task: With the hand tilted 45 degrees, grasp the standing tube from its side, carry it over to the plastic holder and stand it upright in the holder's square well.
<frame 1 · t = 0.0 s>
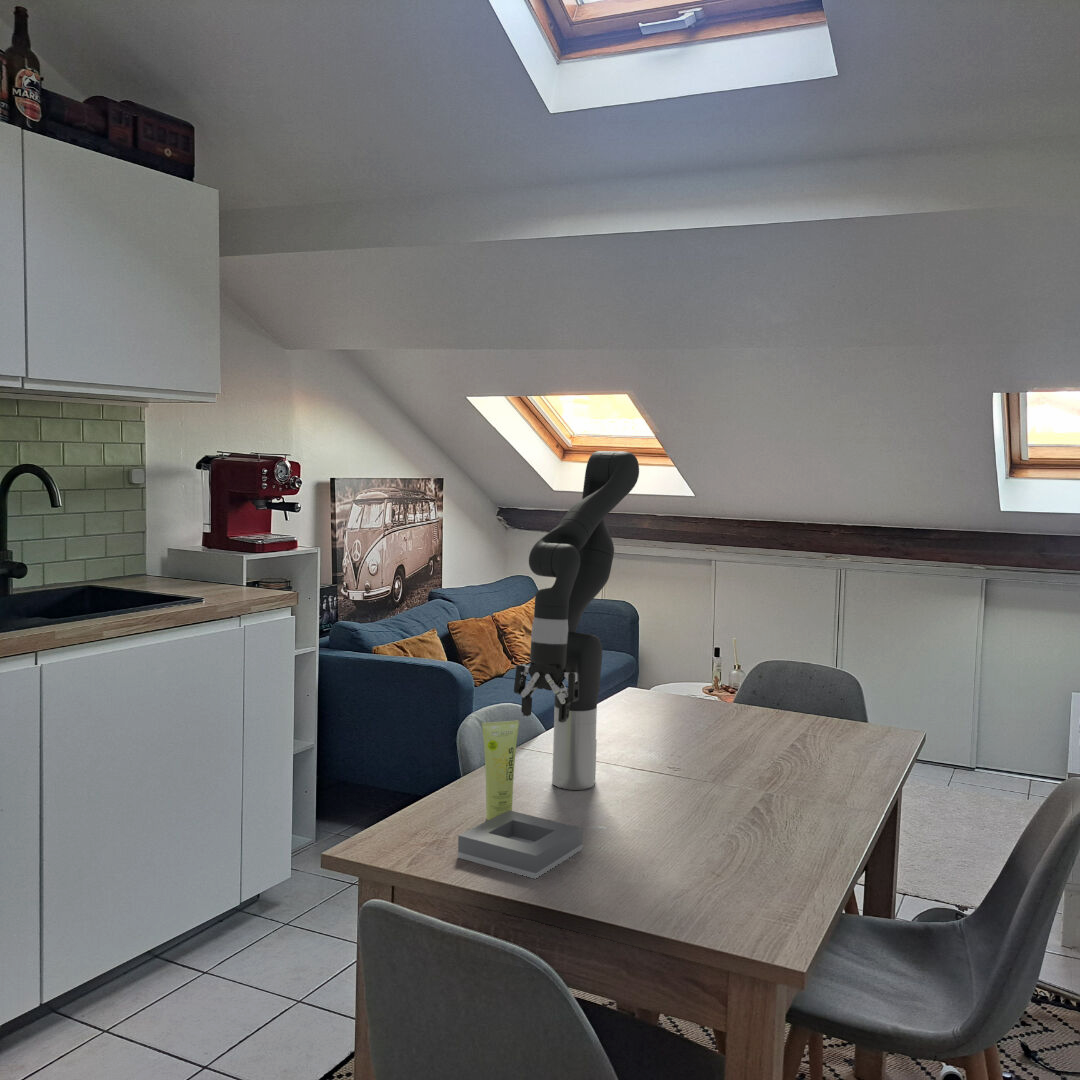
hand: (544, 718, 206), 17 cm above the table, tool pointing down, fingers open, 8 cm apart
holder: (520, 853, 178), on the table
tube: (497, 820, 195), on the table
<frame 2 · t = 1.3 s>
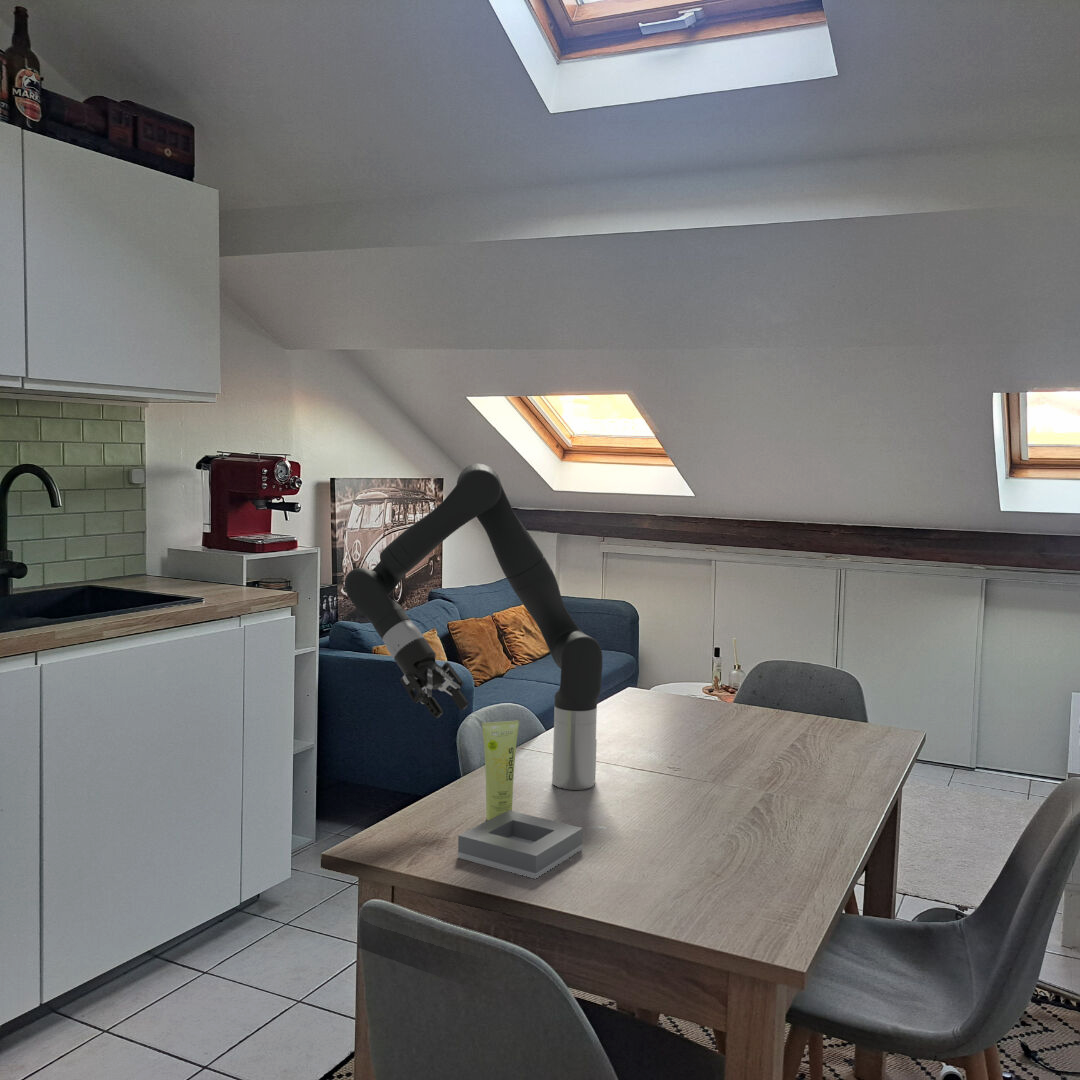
hand: (452, 711, 199), 20 cm above the table, tool tilted 45°, fingers open, 8 cm apart
nothing on the table moved.
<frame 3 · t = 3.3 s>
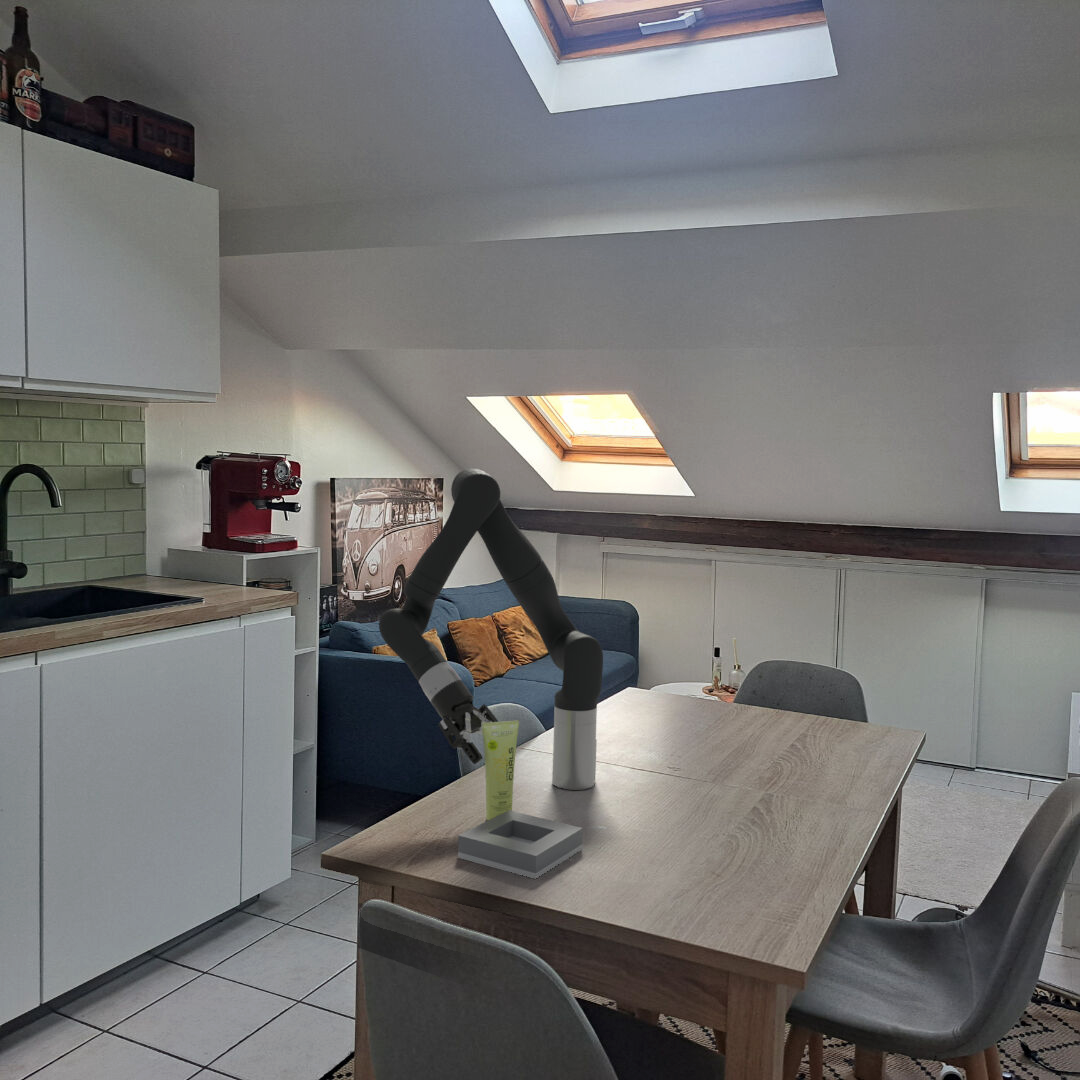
hand: (491, 756, 195), 12 cm above the table, tool tilted 45°, fingers open, 8 cm apart
nothing on the table moved.
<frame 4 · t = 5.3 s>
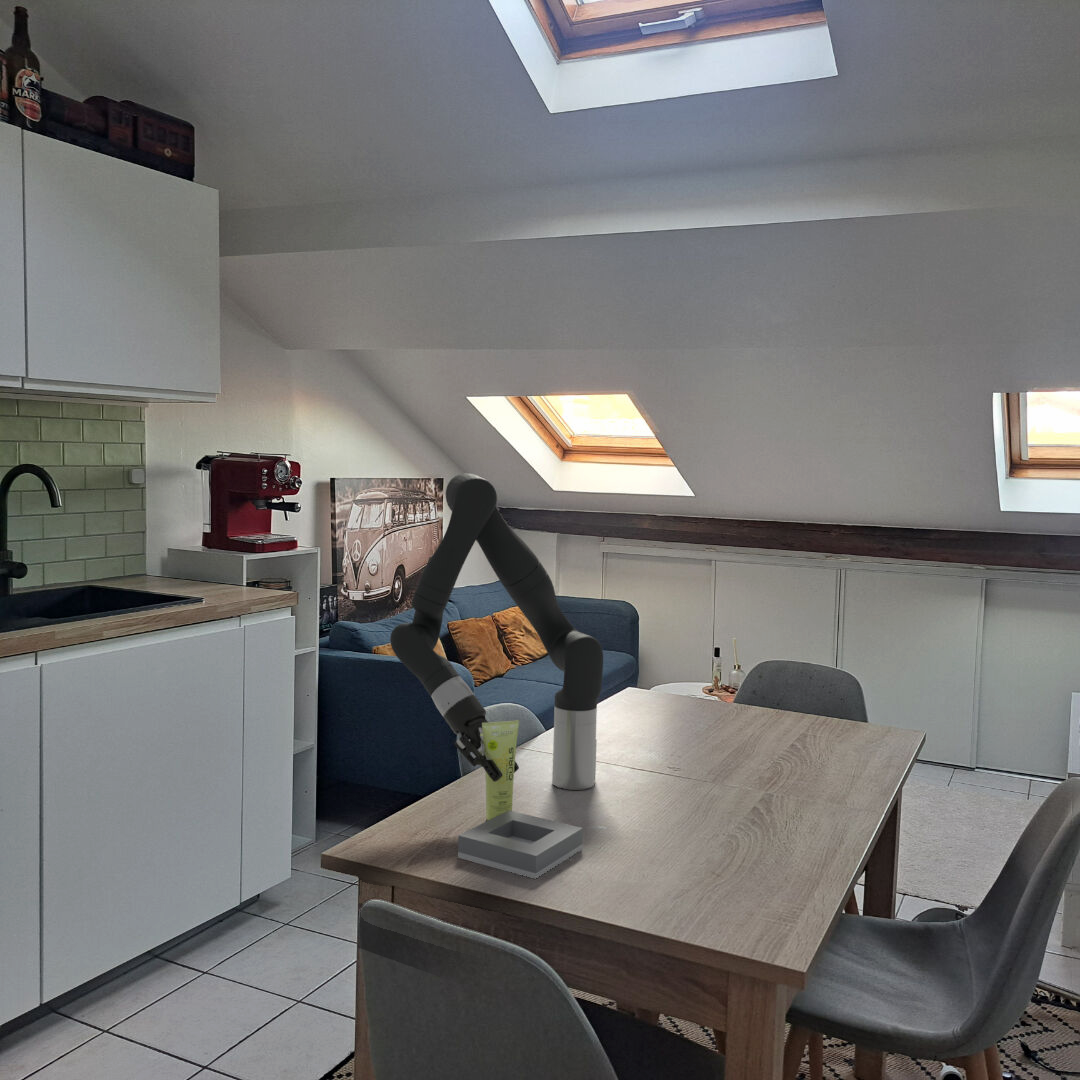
hand: (507, 774, 193), 9 cm above the table, tool tilted 45°, fingers closed on tube, 5 cm apart
tube: (497, 820, 195), on the table, touching gripper
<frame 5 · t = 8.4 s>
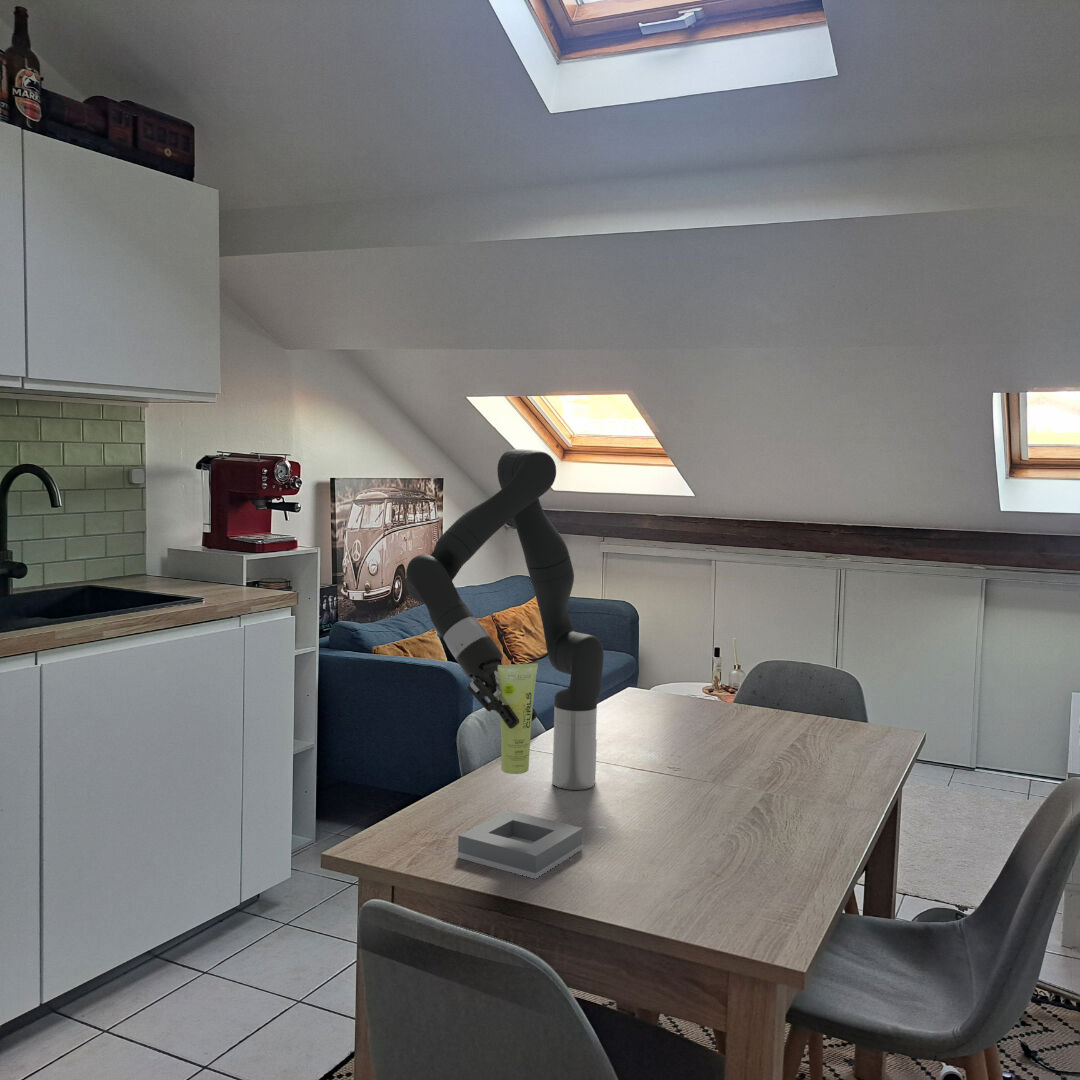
hand: (524, 722, 178), 23 cm above the table, tool tilted 45°, fingers closed on tube, 5 cm apart
tube: (513, 771, 180), point 14 cm above the table, touching gripper
when the fingers open (11 cm above the table, at t = 11.7 s): tube drops 1 cm, resting on holder.
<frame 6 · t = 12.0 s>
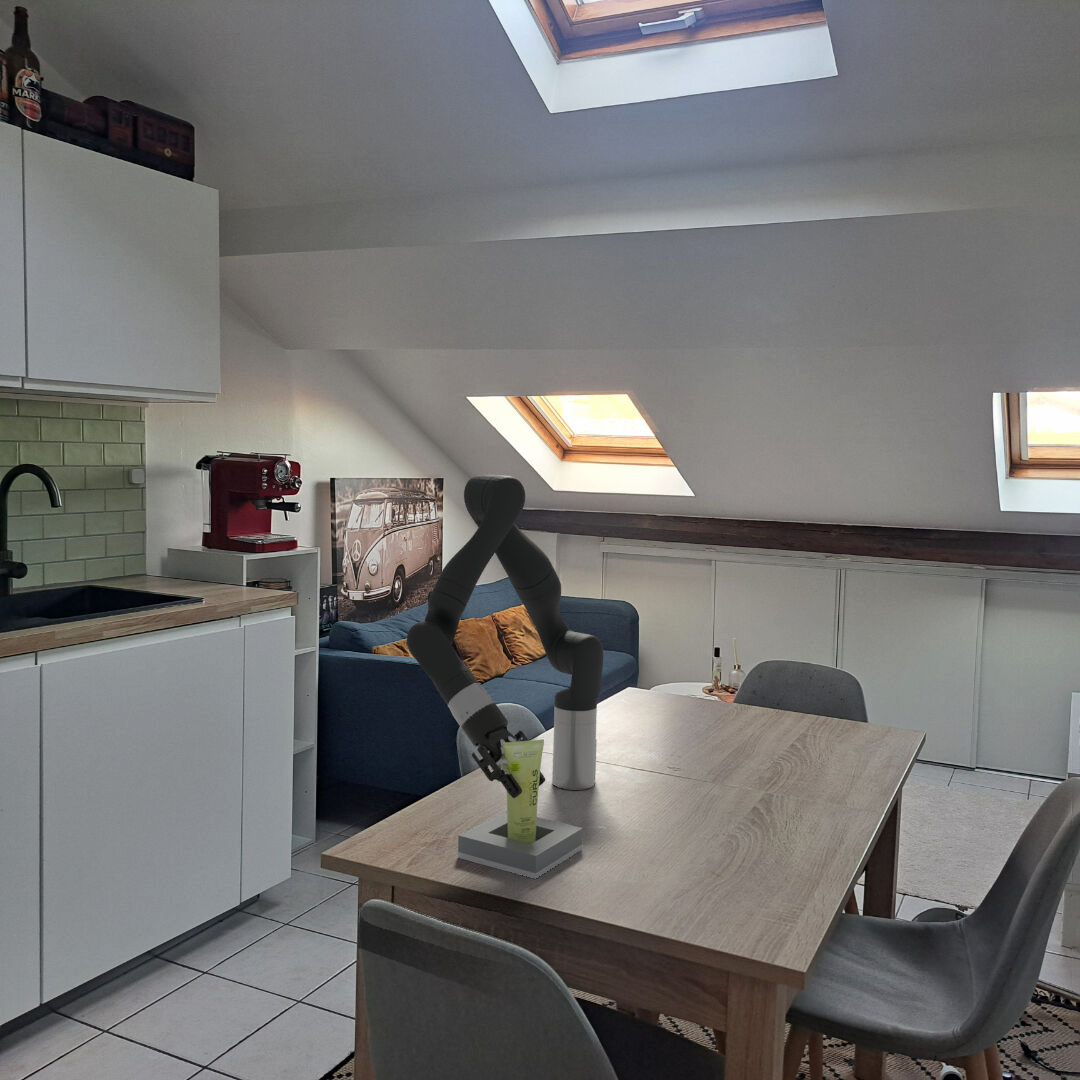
hand: (530, 789, 176), 12 cm above the table, tool tilted 45°, fingers open, 7 cm apart
tube: (520, 848, 178), point 1 cm above the table, touching holder
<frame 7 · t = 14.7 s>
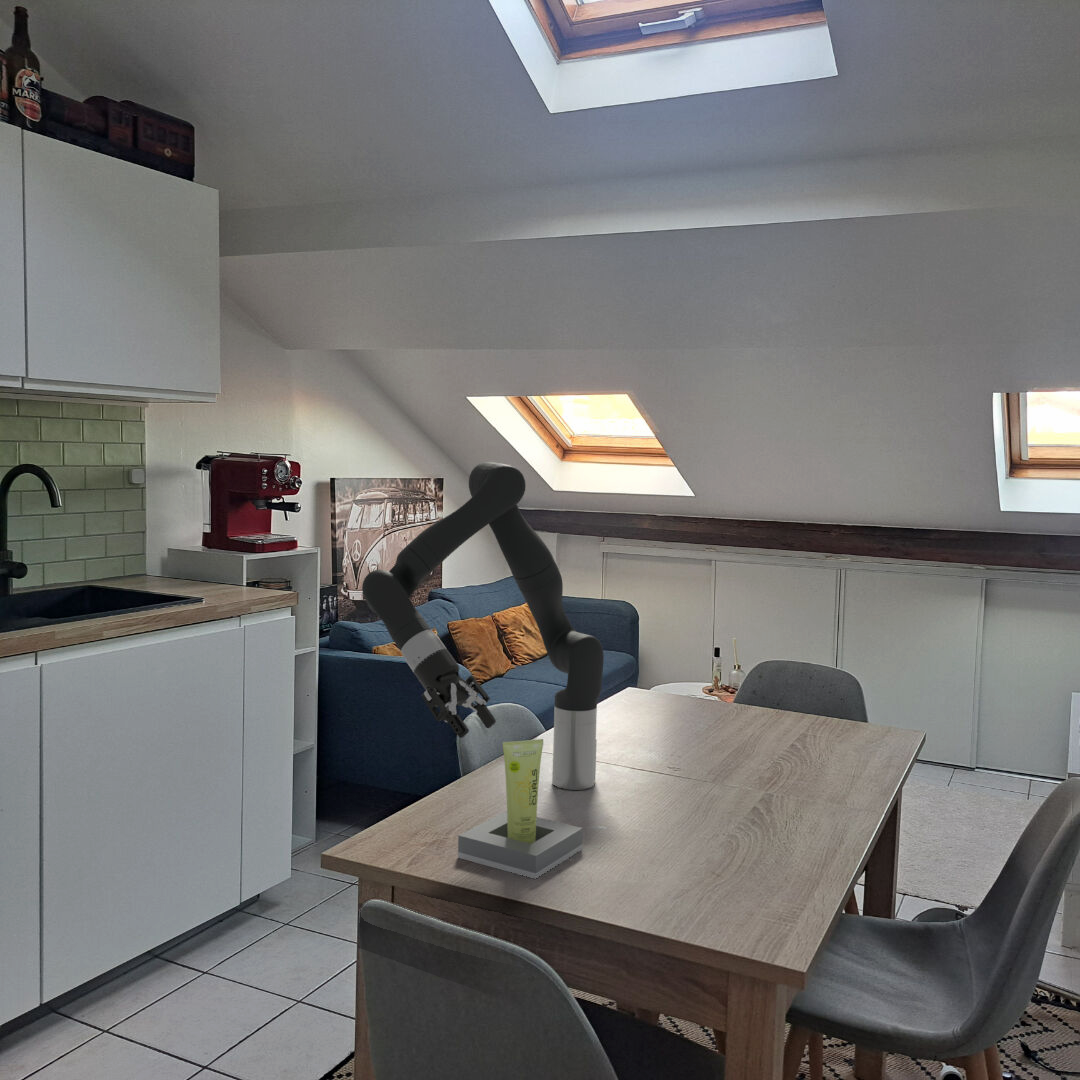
hand: (478, 730, 182), 21 cm above the table, tool tilted 45°, fingers open, 8 cm apart
nothing on the table moved.
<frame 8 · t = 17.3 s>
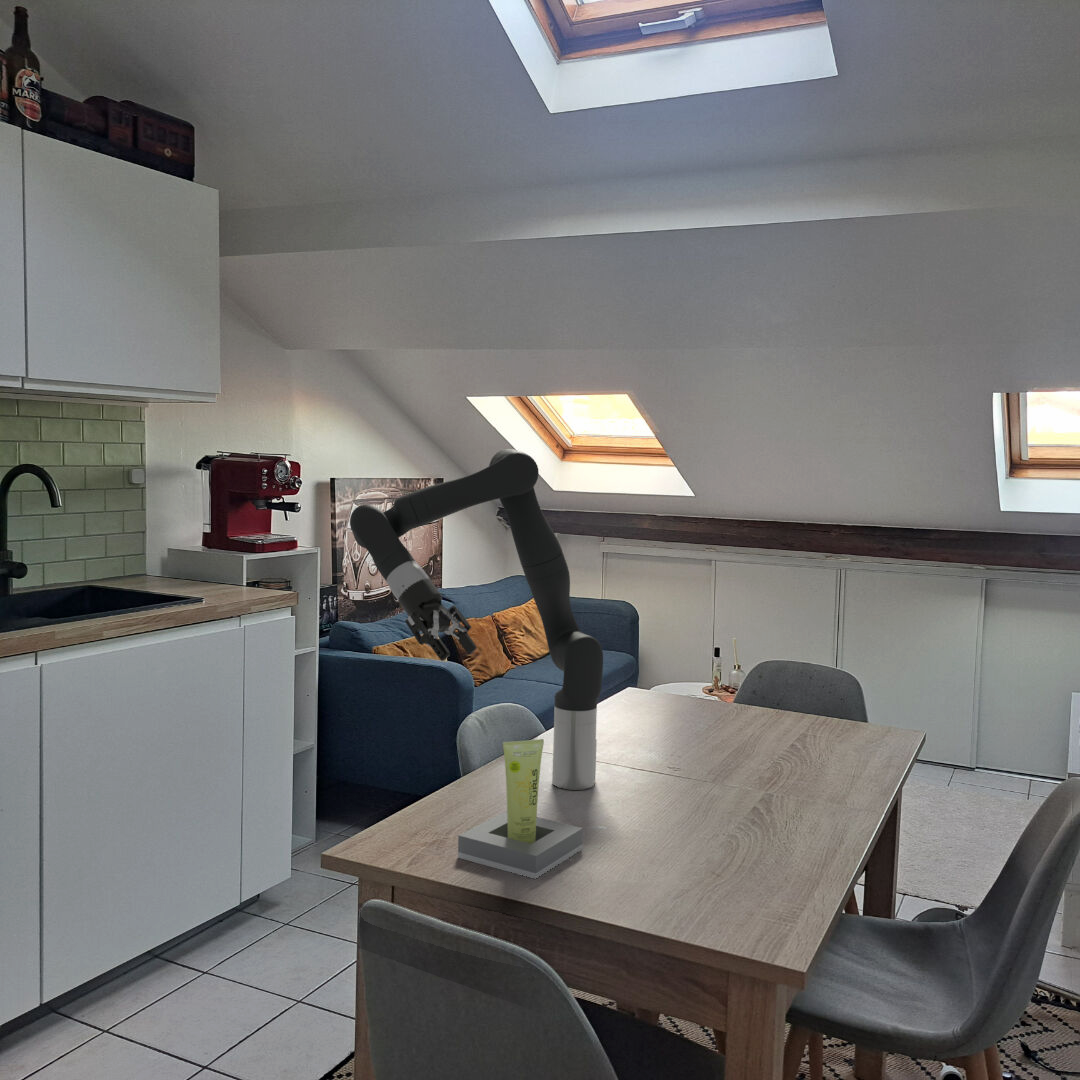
hand: (460, 654, 191), 33 cm above the table, tool tilted 45°, fingers open, 8 cm apart
nothing on the table moved.
at the end: tube 0.3 cm off-centre on the holder, point 0.8 cm above the holder's base; tube tilted 0°; the gripper is holding nothing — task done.
